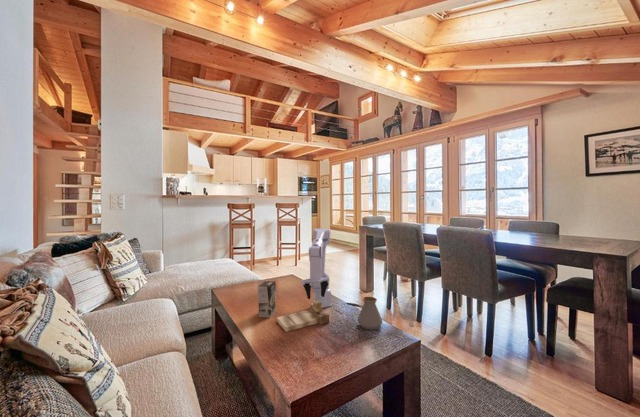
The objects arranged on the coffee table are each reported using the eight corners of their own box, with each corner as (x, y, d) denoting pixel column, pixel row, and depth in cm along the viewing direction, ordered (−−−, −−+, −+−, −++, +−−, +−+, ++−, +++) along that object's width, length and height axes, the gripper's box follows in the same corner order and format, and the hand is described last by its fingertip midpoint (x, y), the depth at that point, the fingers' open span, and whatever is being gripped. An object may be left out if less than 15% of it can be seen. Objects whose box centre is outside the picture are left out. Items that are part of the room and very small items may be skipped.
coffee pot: (368, 318, 134) (368, 288, 134) (387, 326, 125) (387, 295, 125) (336, 332, 121) (336, 299, 120) (355, 342, 112) (355, 307, 111)
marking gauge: (316, 312, 142) (316, 297, 142) (329, 322, 130) (329, 306, 130) (307, 314, 139) (307, 299, 139) (320, 324, 128) (320, 308, 127)
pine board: (316, 311, 143) (316, 307, 143) (327, 320, 132) (327, 316, 132) (276, 321, 132) (276, 317, 132) (286, 331, 122) (286, 327, 122)
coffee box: (270, 318, 136) (269, 286, 136) (258, 317, 137) (257, 285, 137) (276, 310, 145) (276, 281, 144) (265, 309, 146) (264, 280, 146)
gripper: (305, 273, 128) (305, 301, 128) (332, 270, 135) (332, 297, 134) (300, 270, 135) (300, 297, 134) (325, 267, 141) (326, 294, 141)
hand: (315, 297), depth 135 cm, fingers open, 7 cm apart
